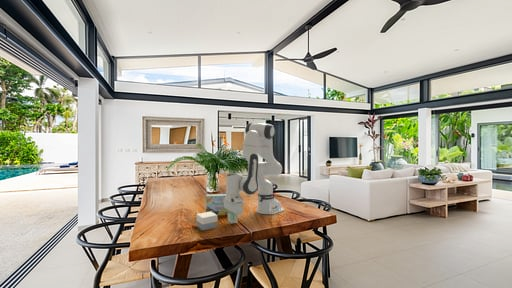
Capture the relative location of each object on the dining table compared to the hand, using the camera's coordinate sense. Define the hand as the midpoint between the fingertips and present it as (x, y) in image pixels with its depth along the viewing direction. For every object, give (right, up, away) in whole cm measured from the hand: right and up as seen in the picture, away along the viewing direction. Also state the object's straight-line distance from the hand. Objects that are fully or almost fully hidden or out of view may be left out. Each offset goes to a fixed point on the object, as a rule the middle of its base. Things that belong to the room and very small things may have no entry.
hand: (232, 217), depth 158 cm
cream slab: (-16, 0, -5) cm, 17 cm away
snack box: (-11, -4, +21) cm, 24 cm away
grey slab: (-16, -4, -5) cm, 18 cm away
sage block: (0, -3, 0) cm, 3 cm away
